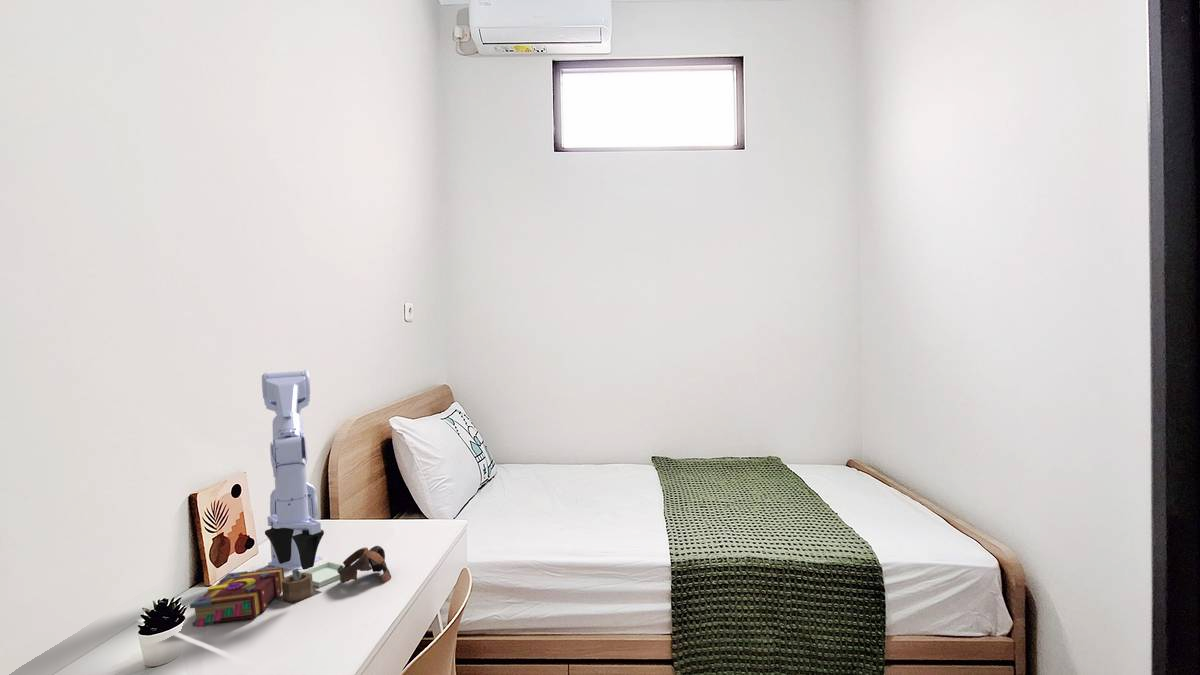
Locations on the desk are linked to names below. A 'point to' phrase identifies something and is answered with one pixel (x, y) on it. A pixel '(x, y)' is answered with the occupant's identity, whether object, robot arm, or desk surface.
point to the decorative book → (238, 596)
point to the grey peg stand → (296, 577)
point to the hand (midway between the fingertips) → (296, 564)
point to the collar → (297, 587)
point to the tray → (324, 573)
